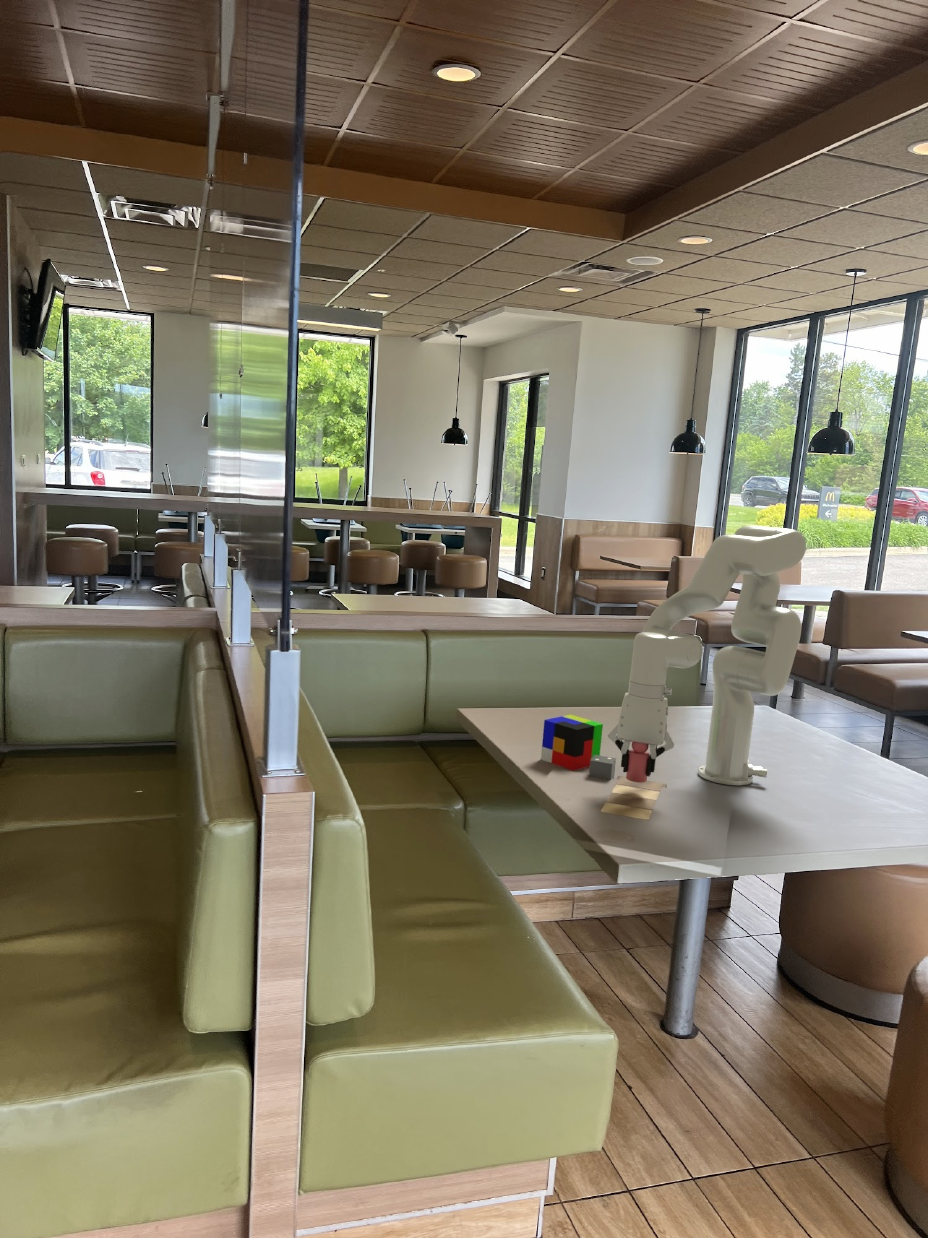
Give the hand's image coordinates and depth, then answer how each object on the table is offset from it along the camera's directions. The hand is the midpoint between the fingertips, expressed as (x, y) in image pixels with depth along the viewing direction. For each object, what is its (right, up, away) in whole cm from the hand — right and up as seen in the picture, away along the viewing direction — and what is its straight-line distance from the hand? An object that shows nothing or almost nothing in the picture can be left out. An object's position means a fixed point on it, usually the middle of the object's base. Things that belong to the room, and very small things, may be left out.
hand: (637, 772), depth 198 cm
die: (-6, -4, +12) cm, 14 cm away
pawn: (0, -2, 0) cm, 2 cm away
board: (-1, -6, -2) cm, 7 cm away
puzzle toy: (-12, -2, +24) cm, 27 cm away
